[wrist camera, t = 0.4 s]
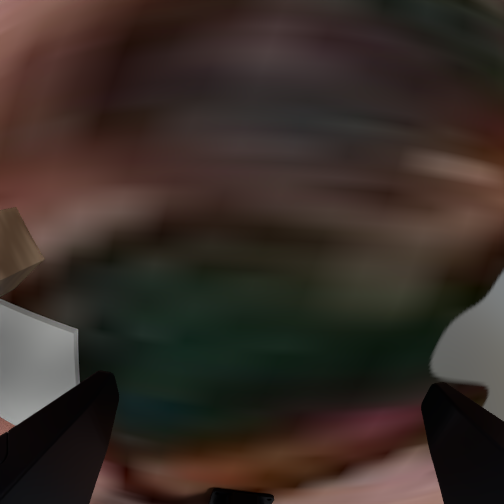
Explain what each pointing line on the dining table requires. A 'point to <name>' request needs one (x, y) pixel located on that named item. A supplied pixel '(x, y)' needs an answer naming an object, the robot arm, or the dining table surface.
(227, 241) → the dining table surface
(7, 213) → the walnut block
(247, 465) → the dining table surface
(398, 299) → the dining table surface
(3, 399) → the grey mat
